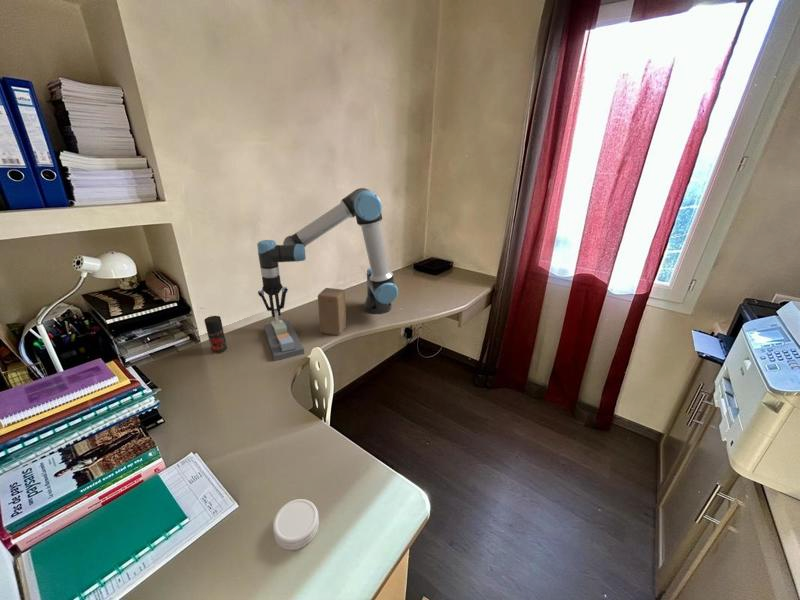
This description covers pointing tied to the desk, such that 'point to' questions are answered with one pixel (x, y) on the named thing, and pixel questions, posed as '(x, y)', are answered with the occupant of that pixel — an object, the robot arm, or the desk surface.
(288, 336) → the key terracotta
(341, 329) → the wooden block
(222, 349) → the deodorant
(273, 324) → the key grey
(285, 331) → the key sage
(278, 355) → the keypad base
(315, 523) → the white round container
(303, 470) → the desk surface
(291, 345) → the key slate
